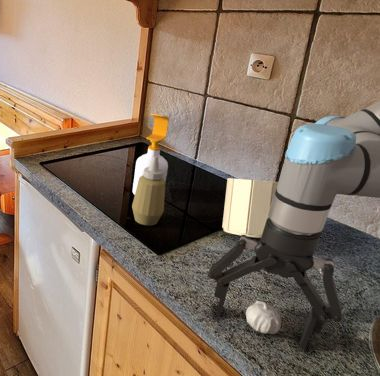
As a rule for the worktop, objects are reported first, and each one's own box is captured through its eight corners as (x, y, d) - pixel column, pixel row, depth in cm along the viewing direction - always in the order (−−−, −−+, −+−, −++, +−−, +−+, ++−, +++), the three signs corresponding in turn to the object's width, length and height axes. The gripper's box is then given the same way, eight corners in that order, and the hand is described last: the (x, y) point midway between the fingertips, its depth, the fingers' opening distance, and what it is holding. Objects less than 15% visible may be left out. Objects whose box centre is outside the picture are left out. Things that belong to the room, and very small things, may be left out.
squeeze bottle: (137, 210, 112) (146, 148, 104) (166, 219, 107) (177, 155, 100) (125, 221, 106) (133, 157, 98) (154, 231, 101) (165, 165, 94)
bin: (282, 240, 92) (289, 183, 91) (231, 235, 93) (237, 179, 92) (262, 232, 103) (268, 181, 102) (217, 227, 104) (223, 177, 103)
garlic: (235, 320, 74) (241, 297, 72) (257, 312, 76) (264, 290, 74) (262, 343, 69) (270, 320, 67) (285, 335, 71) (293, 312, 69)
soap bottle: (127, 195, 120) (137, 114, 110) (139, 185, 127) (150, 107, 116) (156, 203, 116) (169, 119, 105) (167, 192, 122) (180, 112, 112)
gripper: (389, 237, 60) (341, 342, 69) (215, 194, 72) (192, 289, 81) (397, 262, 55) (343, 373, 64) (206, 211, 66) (183, 311, 75)
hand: (258, 326), depth 72 cm, fingers open, 13 cm apart
